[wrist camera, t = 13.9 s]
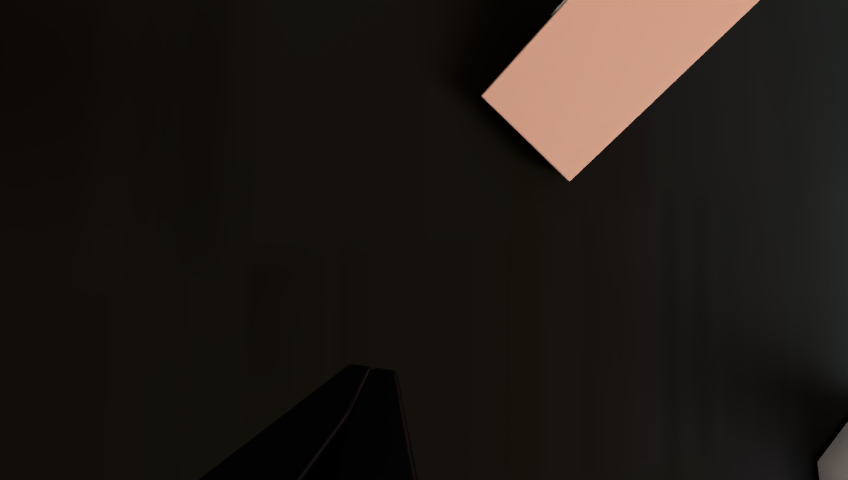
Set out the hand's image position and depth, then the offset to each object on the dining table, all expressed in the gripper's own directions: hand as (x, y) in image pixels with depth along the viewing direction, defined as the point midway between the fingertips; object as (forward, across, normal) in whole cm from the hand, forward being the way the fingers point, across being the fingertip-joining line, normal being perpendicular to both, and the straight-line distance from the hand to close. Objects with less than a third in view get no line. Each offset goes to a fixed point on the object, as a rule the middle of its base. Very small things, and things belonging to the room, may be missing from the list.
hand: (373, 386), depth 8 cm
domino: (+13, -3, -3) cm, 14 cm away
